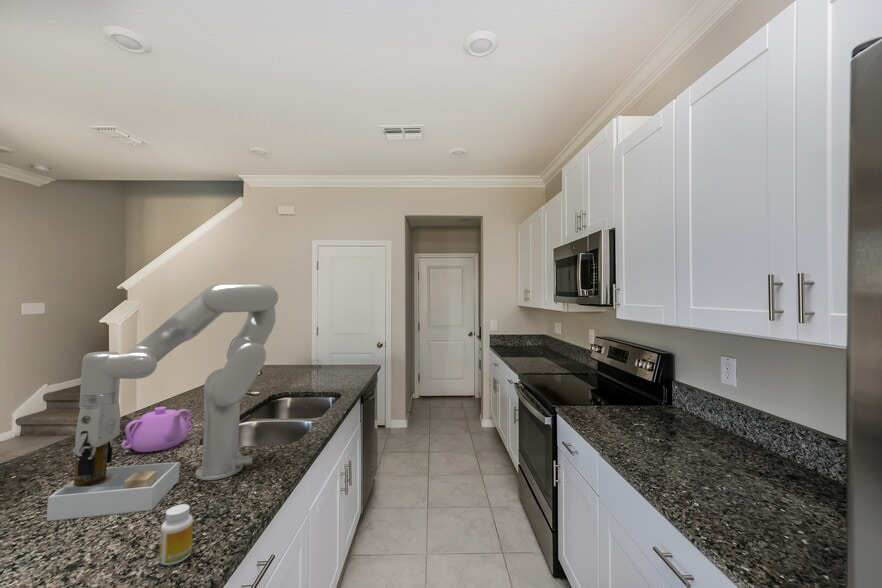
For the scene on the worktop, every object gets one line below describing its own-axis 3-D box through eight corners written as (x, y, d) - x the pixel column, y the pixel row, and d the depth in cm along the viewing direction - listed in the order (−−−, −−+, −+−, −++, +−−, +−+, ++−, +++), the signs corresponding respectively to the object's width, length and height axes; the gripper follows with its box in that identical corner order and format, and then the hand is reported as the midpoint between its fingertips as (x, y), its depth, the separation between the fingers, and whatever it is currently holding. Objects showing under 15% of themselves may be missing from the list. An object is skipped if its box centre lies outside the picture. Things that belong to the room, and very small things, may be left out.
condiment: (87, 474, 97) (91, 429, 97) (121, 474, 97) (124, 429, 98) (61, 488, 89) (65, 439, 90) (98, 487, 90) (102, 439, 91)
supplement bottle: (198, 550, 76) (200, 504, 76) (173, 568, 71) (175, 518, 71) (178, 546, 77) (180, 500, 78) (152, 563, 72) (154, 514, 72)
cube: (155, 489, 99) (156, 470, 99) (146, 498, 94) (147, 479, 95) (134, 491, 98) (134, 472, 98) (123, 500, 93) (124, 481, 93)
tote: (178, 481, 105) (179, 461, 105) (151, 510, 90) (152, 487, 91) (90, 489, 100) (91, 468, 100) (46, 521, 85) (48, 497, 85)
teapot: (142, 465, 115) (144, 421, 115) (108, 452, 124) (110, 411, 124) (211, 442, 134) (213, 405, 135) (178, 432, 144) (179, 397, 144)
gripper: (94, 407, 87) (89, 483, 86) (135, 391, 104) (131, 454, 103) (56, 409, 85) (51, 486, 84) (103, 392, 102) (99, 456, 101)
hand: (95, 468), depth 94 cm, fingers closed on condiment, 6 cm apart
